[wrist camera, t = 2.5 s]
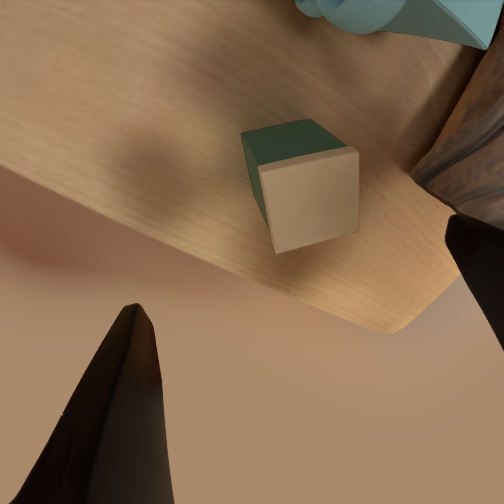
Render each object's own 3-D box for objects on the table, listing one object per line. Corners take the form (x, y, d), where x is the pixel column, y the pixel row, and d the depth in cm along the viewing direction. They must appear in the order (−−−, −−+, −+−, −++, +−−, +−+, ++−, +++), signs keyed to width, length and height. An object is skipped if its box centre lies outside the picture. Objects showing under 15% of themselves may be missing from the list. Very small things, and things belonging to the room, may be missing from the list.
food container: (312, 116, 18) (359, 151, 13) (318, 181, 21) (359, 231, 16) (238, 132, 18) (261, 172, 13) (252, 197, 21) (276, 254, 16)
